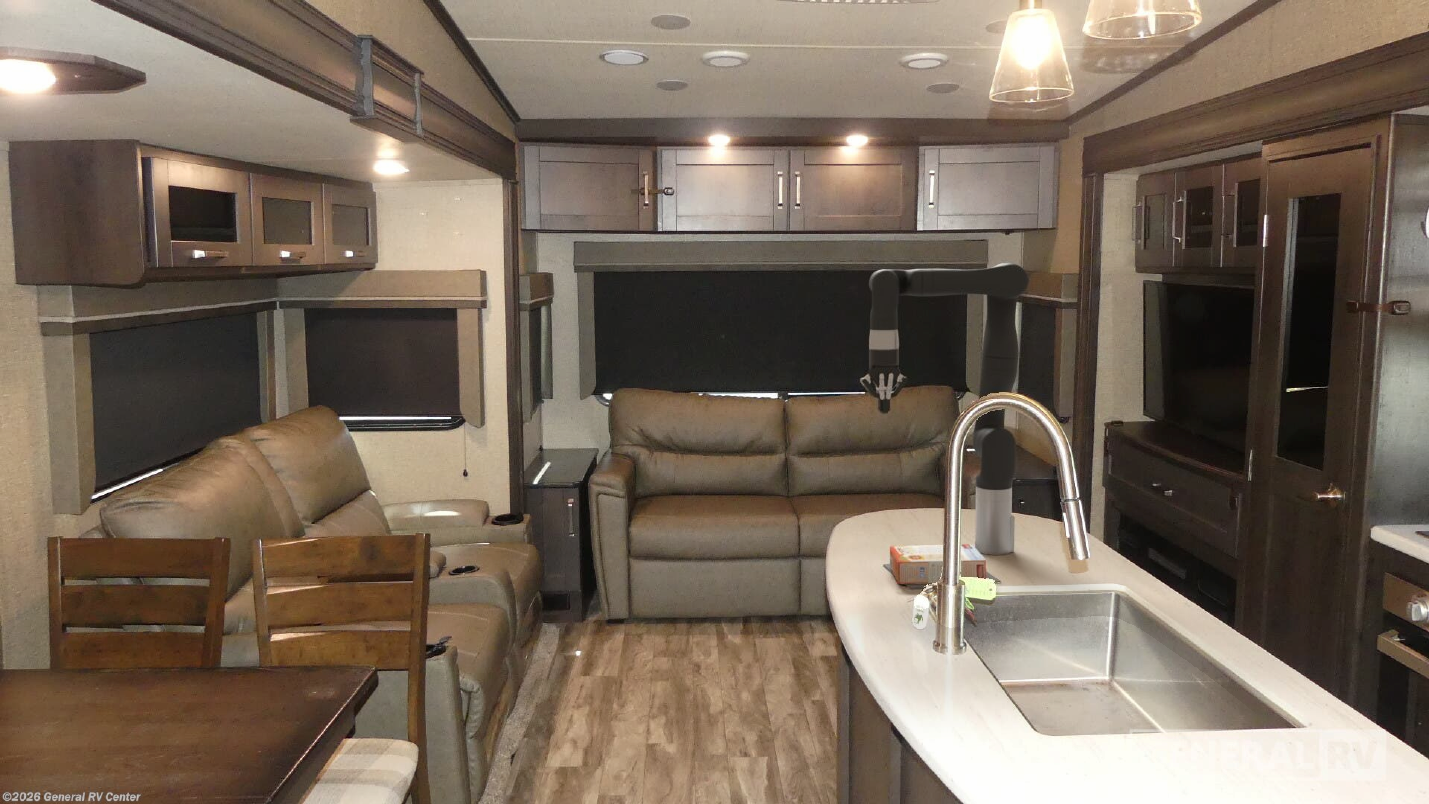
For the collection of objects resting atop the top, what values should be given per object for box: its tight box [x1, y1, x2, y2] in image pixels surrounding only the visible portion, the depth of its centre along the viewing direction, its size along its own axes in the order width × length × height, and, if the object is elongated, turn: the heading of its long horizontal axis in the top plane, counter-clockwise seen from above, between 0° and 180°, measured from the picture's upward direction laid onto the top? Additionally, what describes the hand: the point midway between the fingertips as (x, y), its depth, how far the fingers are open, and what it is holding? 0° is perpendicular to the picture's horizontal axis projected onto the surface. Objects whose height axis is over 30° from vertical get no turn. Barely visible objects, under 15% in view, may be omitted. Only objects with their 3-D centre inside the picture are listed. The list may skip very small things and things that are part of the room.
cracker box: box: [889, 543, 987, 585], centre depth 258 cm, size 14×6×21 cm
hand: (883, 413), depth 278 cm, fingers closed
